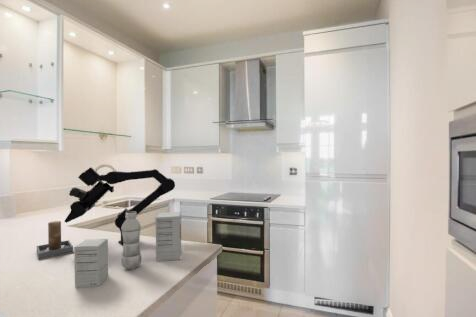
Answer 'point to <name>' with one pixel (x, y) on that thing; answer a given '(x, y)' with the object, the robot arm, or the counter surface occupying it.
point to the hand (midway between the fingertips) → (68, 219)
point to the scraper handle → (54, 236)
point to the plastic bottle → (131, 241)
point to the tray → (56, 252)
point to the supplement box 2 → (168, 236)
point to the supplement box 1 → (91, 262)
